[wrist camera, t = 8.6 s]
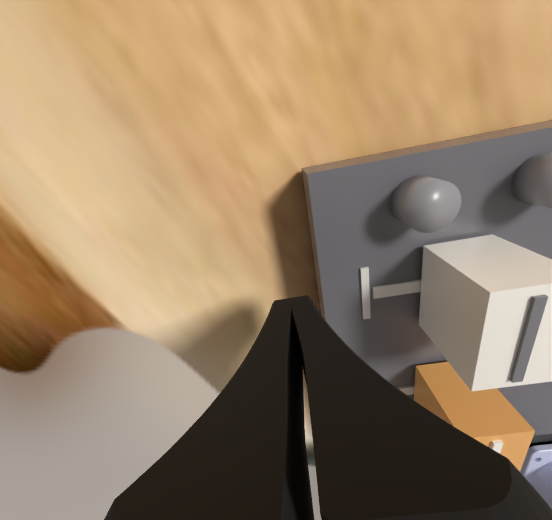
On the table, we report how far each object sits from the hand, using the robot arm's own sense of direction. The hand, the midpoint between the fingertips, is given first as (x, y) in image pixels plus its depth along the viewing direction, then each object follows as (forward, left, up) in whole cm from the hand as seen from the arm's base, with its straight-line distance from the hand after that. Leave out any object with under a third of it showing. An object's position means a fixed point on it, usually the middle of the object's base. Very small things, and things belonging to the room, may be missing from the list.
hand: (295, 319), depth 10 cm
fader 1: (0, -6, -1) cm, 6 cm away
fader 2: (-6, -6, -1) cm, 9 cm away
